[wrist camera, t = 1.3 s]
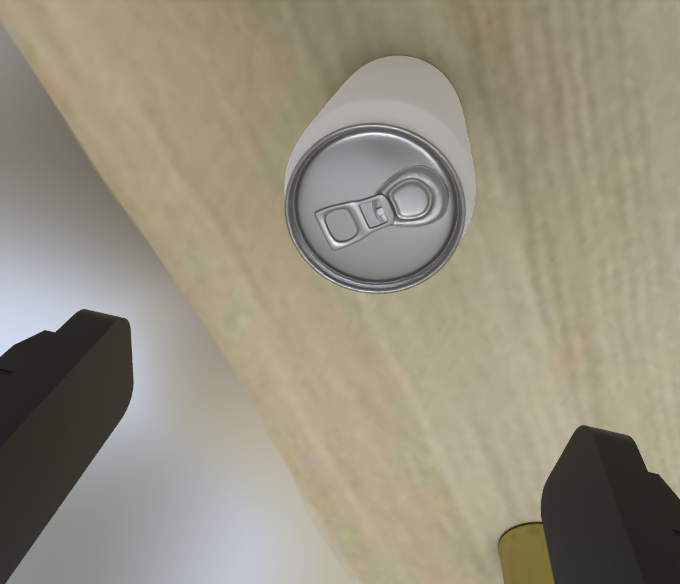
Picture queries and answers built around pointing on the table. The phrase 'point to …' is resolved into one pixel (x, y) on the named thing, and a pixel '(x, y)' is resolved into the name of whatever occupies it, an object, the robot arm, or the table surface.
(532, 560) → the vase
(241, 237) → the table surface
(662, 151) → the table surface
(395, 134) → the can
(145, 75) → the table surface
